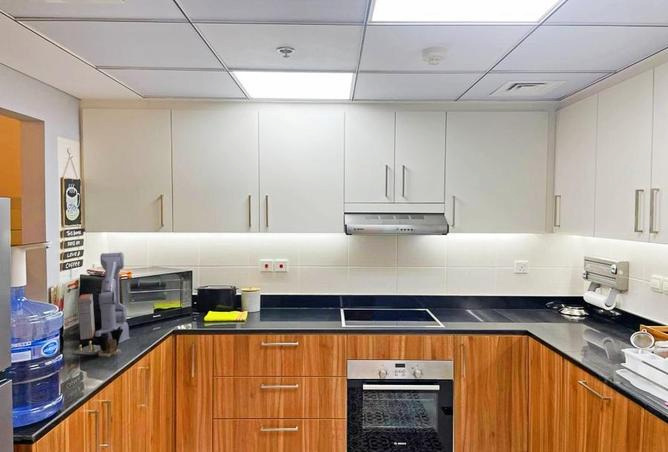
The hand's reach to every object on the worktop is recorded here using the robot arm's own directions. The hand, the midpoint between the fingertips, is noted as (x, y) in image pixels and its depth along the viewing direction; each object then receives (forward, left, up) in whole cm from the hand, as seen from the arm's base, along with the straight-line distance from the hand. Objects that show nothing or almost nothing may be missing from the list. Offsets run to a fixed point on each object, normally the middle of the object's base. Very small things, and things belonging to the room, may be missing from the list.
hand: (109, 347), depth 203 cm
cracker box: (-24, -34, -3) cm, 41 cm away
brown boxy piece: (0, 0, -3) cm, 3 cm away
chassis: (-2, -12, -3) cm, 12 cm away
